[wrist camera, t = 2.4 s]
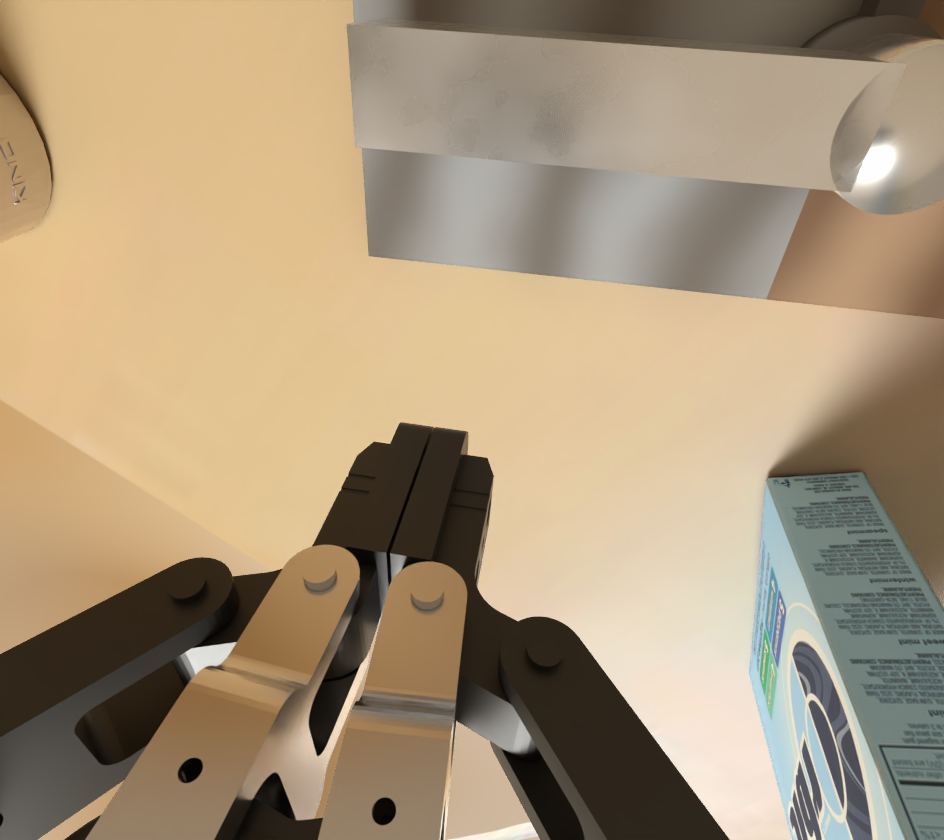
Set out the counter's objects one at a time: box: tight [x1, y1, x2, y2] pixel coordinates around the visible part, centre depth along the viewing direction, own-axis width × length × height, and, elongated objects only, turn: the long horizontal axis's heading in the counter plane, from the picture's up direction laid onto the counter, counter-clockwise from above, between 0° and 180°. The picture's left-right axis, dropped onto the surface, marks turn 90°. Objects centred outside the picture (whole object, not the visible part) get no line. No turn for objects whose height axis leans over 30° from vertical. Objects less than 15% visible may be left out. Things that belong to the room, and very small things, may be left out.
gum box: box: [749, 472, 944, 840], centre depth 26 cm, size 20×5×23 cm, turn 14°
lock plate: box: [353, 0, 944, 319], centre depth 16 cm, size 30×18×6 cm, turn 87°
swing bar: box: [347, 18, 944, 215], centre depth 17 cm, size 17×4×4 cm, turn 87°
